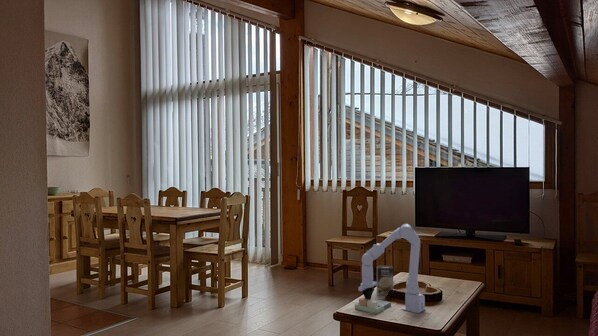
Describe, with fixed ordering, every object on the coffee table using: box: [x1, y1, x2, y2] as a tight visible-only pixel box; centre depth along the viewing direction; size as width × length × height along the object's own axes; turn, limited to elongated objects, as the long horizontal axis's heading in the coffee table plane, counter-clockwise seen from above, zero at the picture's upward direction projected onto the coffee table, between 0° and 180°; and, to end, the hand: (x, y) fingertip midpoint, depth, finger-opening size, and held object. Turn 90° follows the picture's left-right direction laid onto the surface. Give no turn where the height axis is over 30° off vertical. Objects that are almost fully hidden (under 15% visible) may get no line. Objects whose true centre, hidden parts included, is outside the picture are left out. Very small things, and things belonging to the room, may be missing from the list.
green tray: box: [354, 302, 385, 315], centre depth 262 cm, size 13×8×2 cm, turn 49°
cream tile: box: [367, 300, 378, 309], centre depth 260 cm, size 4×4×3 cm
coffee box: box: [376, 265, 394, 297], centre depth 288 cm, size 9×6×16 cm
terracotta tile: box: [358, 297, 369, 307], centre depth 264 cm, size 4×4×3 cm
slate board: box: [371, 298, 392, 310], centre depth 268 cm, size 12×8×2 cm
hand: (367, 301), depth 265 cm, fingers closed
